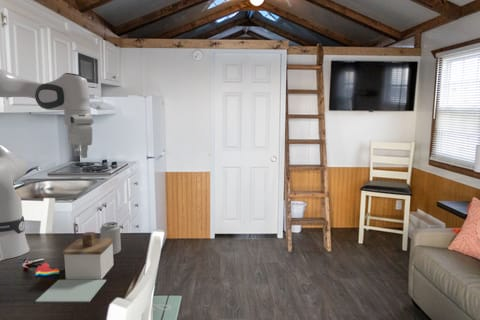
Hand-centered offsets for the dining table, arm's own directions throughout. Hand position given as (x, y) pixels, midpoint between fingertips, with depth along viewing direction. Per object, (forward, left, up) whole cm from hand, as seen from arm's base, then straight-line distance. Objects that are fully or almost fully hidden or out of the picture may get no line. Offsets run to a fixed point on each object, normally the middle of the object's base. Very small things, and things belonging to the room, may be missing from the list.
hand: (80, 156), depth 135 cm
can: (+7, +8, -40) cm, 41 cm away
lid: (+6, -10, -31) cm, 33 cm away
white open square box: (+6, -10, -40) cm, 42 cm away
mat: (+6, -24, -40) cm, 47 cm away
